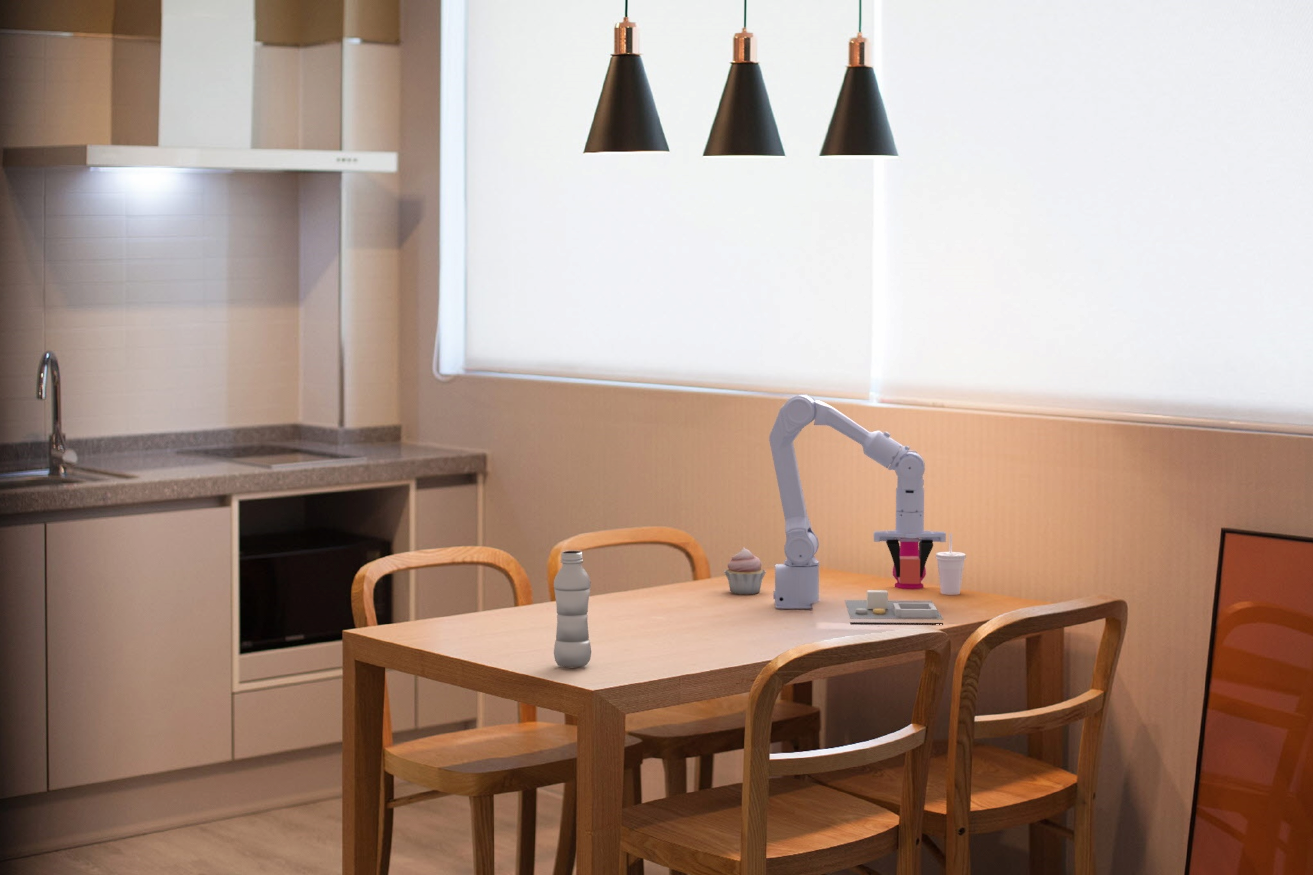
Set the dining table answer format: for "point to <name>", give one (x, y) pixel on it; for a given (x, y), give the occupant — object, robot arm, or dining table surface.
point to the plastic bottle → (572, 612)
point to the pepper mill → (909, 550)
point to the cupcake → (745, 573)
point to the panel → (893, 612)
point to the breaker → (877, 599)
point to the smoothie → (950, 570)
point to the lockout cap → (909, 570)
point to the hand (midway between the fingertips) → (909, 576)
